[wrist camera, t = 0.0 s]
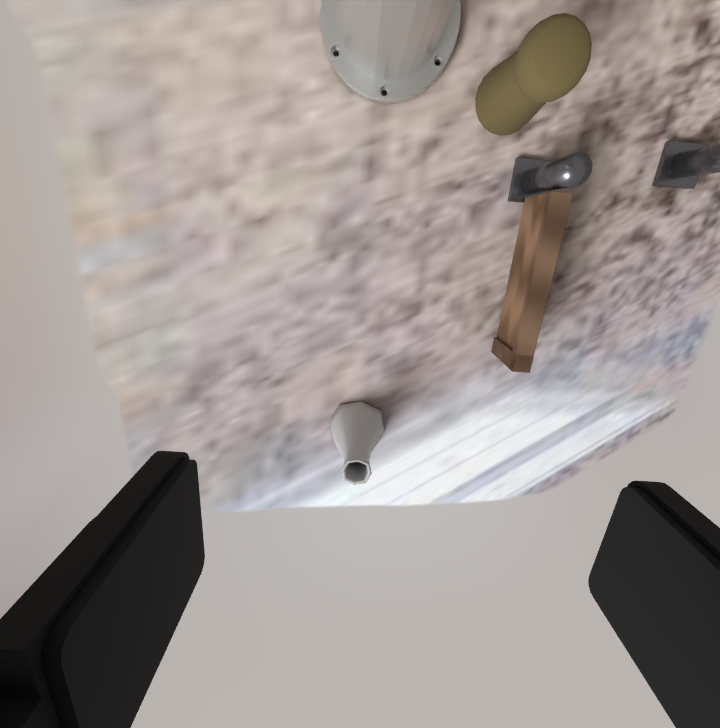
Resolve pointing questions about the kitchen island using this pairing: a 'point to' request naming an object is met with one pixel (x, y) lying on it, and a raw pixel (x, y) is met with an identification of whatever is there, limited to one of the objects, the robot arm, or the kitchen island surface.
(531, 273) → the brown wooden plank
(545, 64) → the olive rounded lobed piece
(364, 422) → the flask
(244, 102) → the kitchen island surface
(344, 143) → the kitchen island surface
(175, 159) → the kitchen island surface
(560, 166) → the grey upright posts
